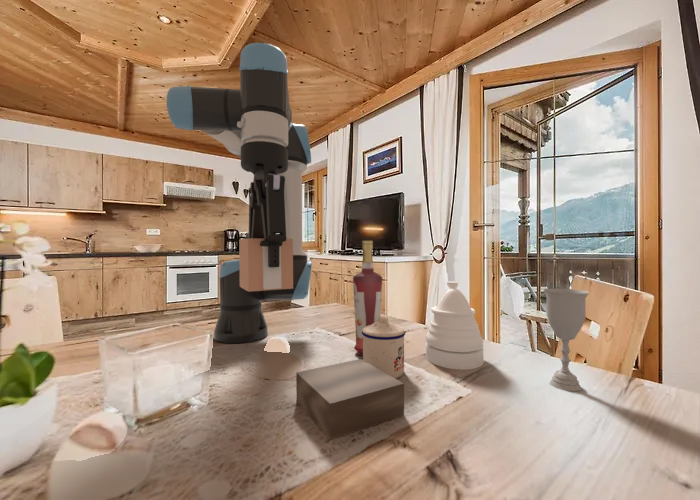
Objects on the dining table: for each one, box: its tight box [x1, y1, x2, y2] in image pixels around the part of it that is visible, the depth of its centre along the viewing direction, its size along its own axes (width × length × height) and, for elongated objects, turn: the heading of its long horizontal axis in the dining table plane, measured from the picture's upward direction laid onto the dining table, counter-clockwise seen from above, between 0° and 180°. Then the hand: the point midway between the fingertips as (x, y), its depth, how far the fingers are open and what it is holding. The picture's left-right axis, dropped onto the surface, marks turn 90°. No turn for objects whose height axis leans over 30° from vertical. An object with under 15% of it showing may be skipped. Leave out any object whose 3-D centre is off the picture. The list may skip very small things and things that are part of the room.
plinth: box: [295, 358, 405, 440], centre depth 54 cm, size 13×13×5 cm
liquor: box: [352, 240, 383, 356], centre depth 81 cm, size 7×7×28 cm
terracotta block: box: [238, 237, 293, 292], centre depth 54 cm, size 7×7×8 cm
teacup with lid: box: [362, 316, 406, 379], centre depth 70 cm, size 12×9×12 cm
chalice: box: [543, 288, 590, 392], centre depth 62 cm, size 7×7×18 cm
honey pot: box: [425, 281, 484, 370], centre depth 77 cm, size 13×13×18 cm
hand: (265, 285), depth 54 cm, fingers closed on terracotta block, 7 cm apart
